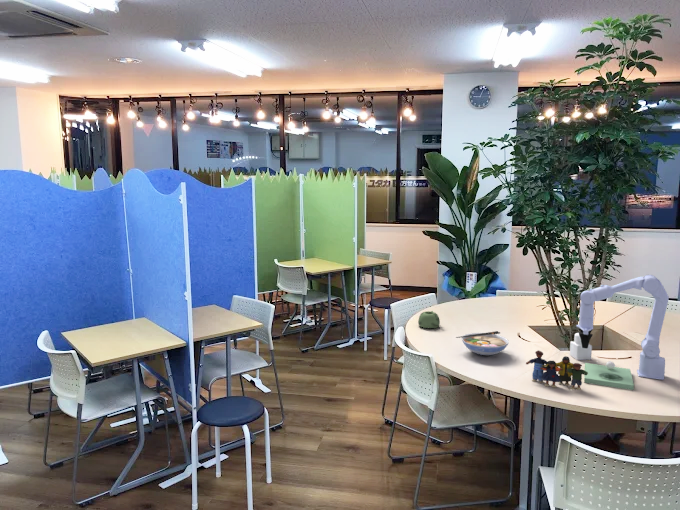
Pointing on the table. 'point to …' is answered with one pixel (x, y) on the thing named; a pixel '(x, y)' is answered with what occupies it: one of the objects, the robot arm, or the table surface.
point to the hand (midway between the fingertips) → (584, 345)
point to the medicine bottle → (580, 349)
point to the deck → (608, 376)
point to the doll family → (551, 369)
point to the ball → (610, 365)
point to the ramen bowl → (485, 342)
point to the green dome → (428, 320)
